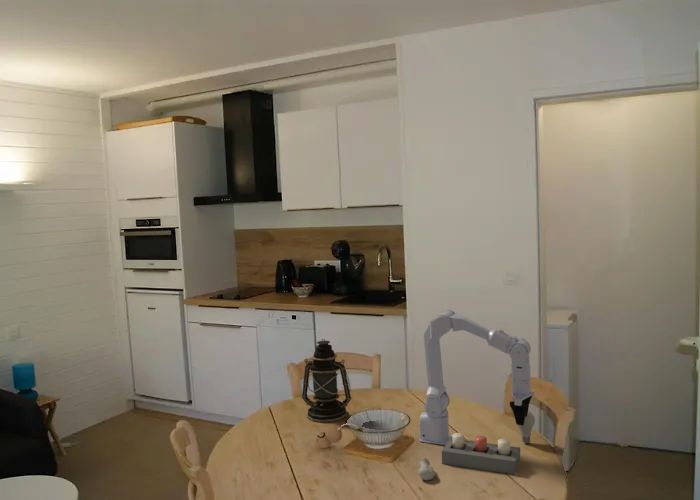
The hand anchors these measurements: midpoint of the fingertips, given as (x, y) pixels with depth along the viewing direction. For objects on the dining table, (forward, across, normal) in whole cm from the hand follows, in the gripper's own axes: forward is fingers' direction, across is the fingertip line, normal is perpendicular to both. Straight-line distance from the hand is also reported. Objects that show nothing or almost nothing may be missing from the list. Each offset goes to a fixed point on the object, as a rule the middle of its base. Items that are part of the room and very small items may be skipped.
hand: (521, 420), depth 182 cm
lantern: (+10, +9, +75) cm, 76 cm away
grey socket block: (+10, -12, +11) cm, 19 cm away
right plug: (+6, -12, +4) cm, 14 cm away
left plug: (+6, -12, +18) cm, 22 cm away
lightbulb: (+10, +6, 0) cm, 12 cm away
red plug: (+6, -12, +11) cm, 17 cm away
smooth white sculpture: (+10, -26, +24) cm, 37 cm away
